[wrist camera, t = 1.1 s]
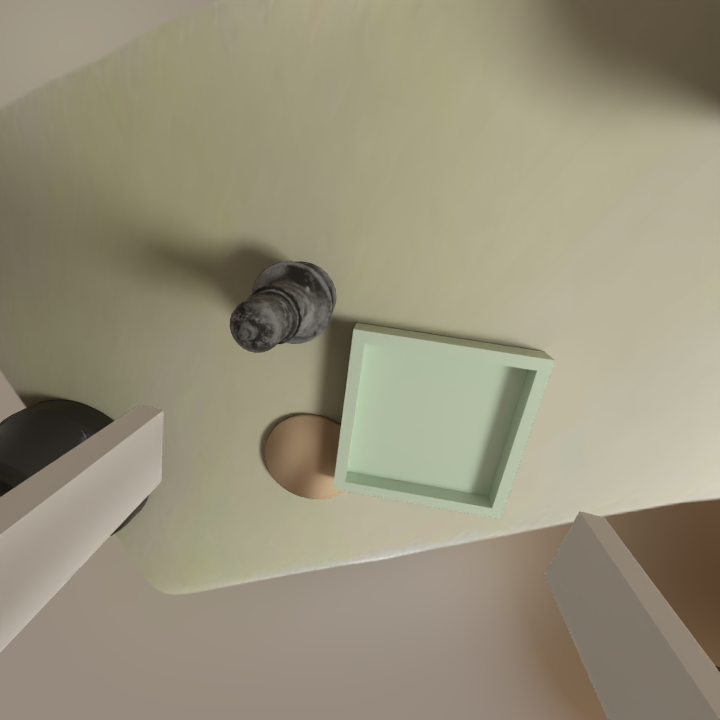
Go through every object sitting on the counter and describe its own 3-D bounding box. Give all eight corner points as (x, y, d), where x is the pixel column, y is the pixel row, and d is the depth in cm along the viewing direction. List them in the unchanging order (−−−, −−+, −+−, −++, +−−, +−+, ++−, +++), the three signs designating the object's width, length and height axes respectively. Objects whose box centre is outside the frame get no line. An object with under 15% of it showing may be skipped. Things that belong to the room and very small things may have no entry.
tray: (336, 474, 34) (332, 488, 32) (356, 322, 29) (353, 329, 27) (494, 502, 33) (500, 519, 31) (544, 351, 28) (555, 360, 26)
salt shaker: (279, 337, 30) (207, 398, 19) (259, 266, 28) (165, 288, 17) (347, 324, 29) (313, 381, 18) (330, 250, 27) (281, 262, 16)
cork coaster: (264, 486, 35) (262, 489, 35) (268, 406, 32) (266, 409, 32) (353, 502, 35) (352, 506, 34) (365, 423, 32) (365, 425, 31)
